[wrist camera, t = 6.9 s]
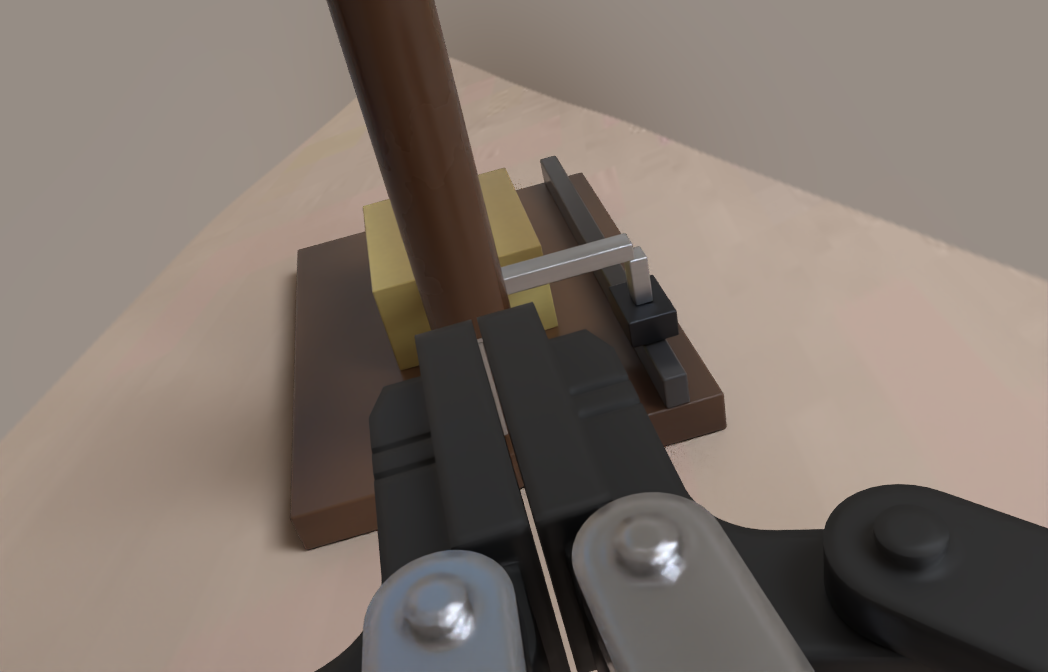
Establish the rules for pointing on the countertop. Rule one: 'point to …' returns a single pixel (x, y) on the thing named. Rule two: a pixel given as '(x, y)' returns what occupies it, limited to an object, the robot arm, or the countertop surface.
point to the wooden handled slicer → (460, 182)
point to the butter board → (369, 365)
